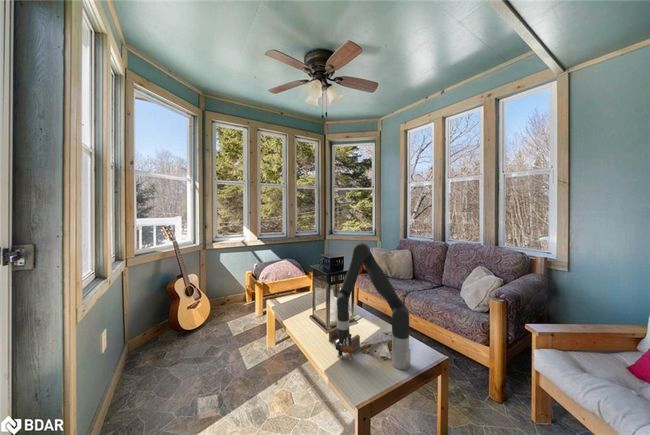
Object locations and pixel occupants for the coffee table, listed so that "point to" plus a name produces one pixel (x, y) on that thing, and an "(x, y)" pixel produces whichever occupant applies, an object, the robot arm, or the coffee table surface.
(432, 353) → the coffee table surface
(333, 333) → the keeper cradle
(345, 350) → the bull figurine
